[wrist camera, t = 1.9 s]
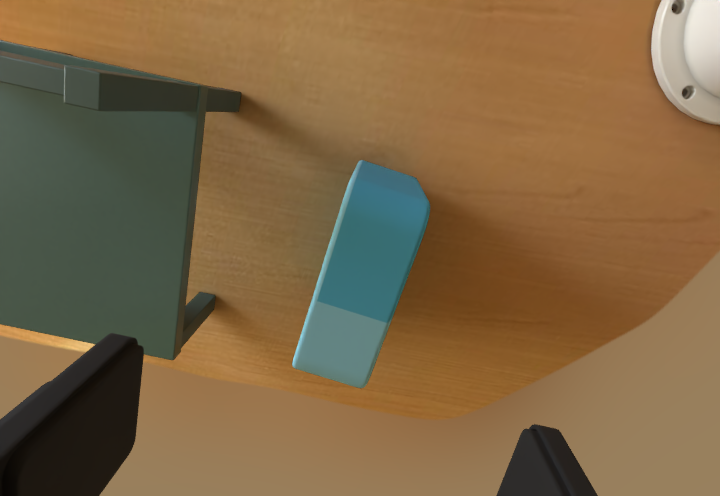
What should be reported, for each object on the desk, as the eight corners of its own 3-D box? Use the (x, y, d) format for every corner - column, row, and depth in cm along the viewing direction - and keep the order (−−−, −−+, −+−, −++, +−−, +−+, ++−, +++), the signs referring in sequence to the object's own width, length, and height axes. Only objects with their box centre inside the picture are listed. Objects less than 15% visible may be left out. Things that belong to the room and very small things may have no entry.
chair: (243, 91, 33) (104, 70, 16) (215, 311, 38) (89, 462, 22) (53, 49, 33) (-282, -16, 16) (51, 276, 38) (-202, 402, 21)
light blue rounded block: (367, 312, 37) (361, 401, 26) (316, 296, 37) (287, 378, 26) (416, 175, 34) (434, 207, 22) (360, 156, 34) (349, 179, 22)
